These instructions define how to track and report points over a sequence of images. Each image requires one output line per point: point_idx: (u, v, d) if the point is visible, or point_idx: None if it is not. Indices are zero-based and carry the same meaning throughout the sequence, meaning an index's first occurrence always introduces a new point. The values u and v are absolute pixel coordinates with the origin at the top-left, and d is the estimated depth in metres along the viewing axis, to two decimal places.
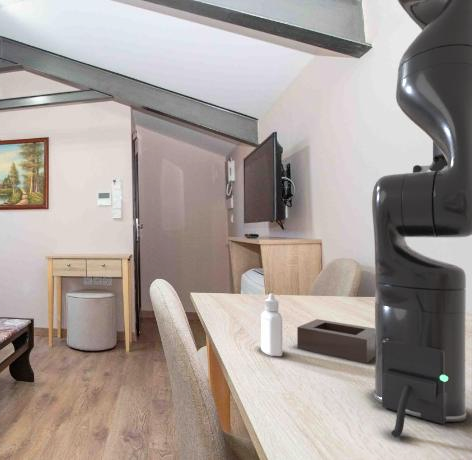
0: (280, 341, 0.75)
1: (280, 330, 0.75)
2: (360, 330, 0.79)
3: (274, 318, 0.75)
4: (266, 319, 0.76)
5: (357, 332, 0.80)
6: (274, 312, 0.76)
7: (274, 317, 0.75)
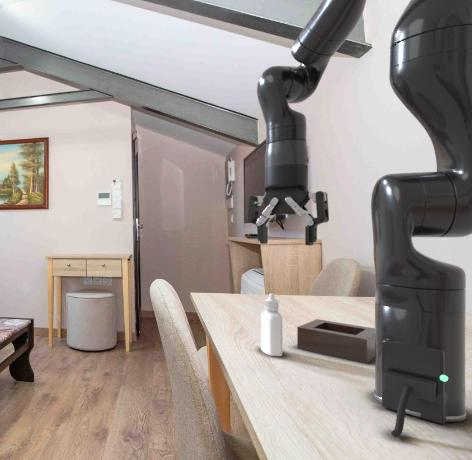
0: (280, 341, 0.75)
1: (280, 330, 0.75)
2: (360, 330, 0.79)
3: (274, 318, 0.75)
4: (266, 319, 0.76)
5: (357, 332, 0.80)
6: (274, 312, 0.76)
7: (274, 317, 0.75)
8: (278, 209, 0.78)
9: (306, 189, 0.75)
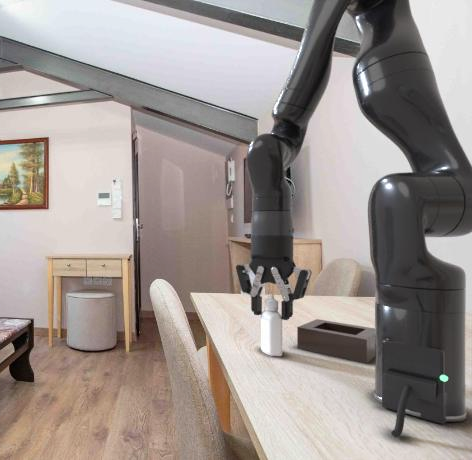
0: (280, 341, 0.75)
1: (280, 330, 0.75)
2: (360, 330, 0.79)
3: (274, 318, 0.75)
4: (266, 319, 0.76)
5: (357, 332, 0.80)
6: (273, 312, 0.76)
7: (274, 317, 0.75)
8: (264, 277, 0.78)
9: (291, 260, 0.75)
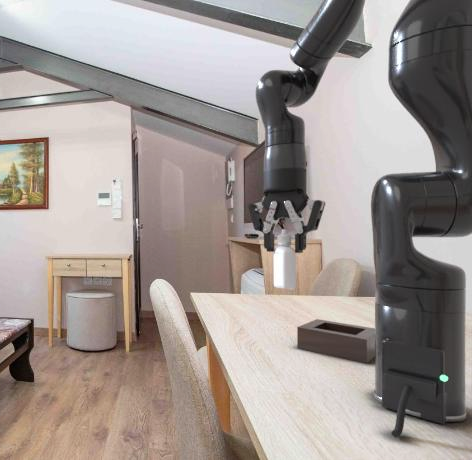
0: (294, 274, 0.75)
1: (294, 263, 0.75)
2: (360, 330, 0.79)
3: (288, 251, 0.75)
4: (279, 253, 0.77)
5: (357, 332, 0.80)
6: (287, 246, 0.77)
7: (287, 250, 0.75)
8: (277, 213, 0.78)
9: (305, 193, 0.75)
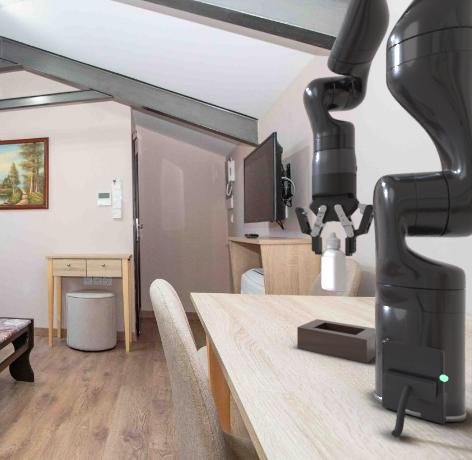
0: (344, 276, 0.76)
1: (344, 266, 0.76)
2: (360, 330, 0.79)
3: (338, 254, 0.77)
4: (329, 256, 0.78)
5: (357, 332, 0.80)
6: (336, 249, 0.78)
7: (338, 253, 0.77)
8: (326, 216, 0.79)
9: (355, 197, 0.76)
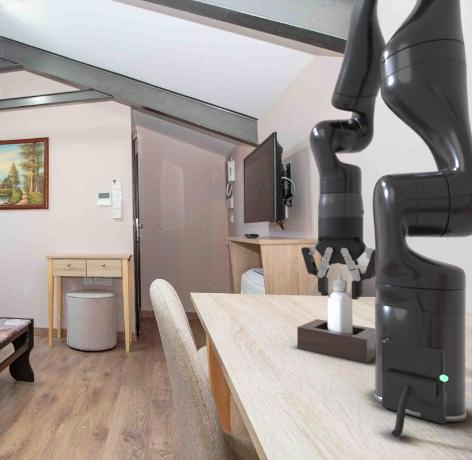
0: (351, 320, 0.76)
1: (351, 309, 0.76)
2: (360, 330, 0.79)
3: (345, 297, 0.77)
4: (335, 299, 0.78)
5: (357, 332, 0.80)
6: (343, 292, 0.78)
7: (344, 297, 0.77)
8: (332, 258, 0.79)
9: (362, 241, 0.76)
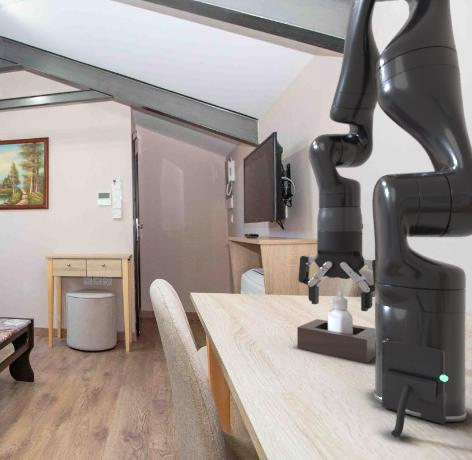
0: None
1: (351, 328, 0.77)
2: (360, 330, 0.79)
3: (345, 316, 0.77)
4: (336, 317, 0.78)
5: (357, 332, 0.80)
6: (343, 310, 0.78)
7: (345, 315, 0.77)
8: (331, 272, 0.79)
9: (361, 255, 0.76)
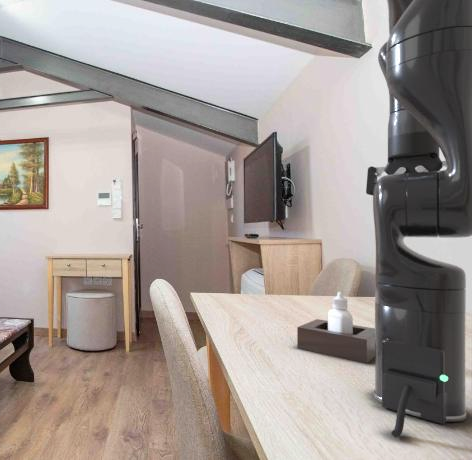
0: None
1: (351, 328, 0.77)
2: (360, 330, 0.79)
3: (345, 316, 0.77)
4: (336, 317, 0.78)
5: (357, 332, 0.80)
6: (343, 310, 0.78)
7: (345, 315, 0.77)
8: None
9: (439, 157, 0.73)
